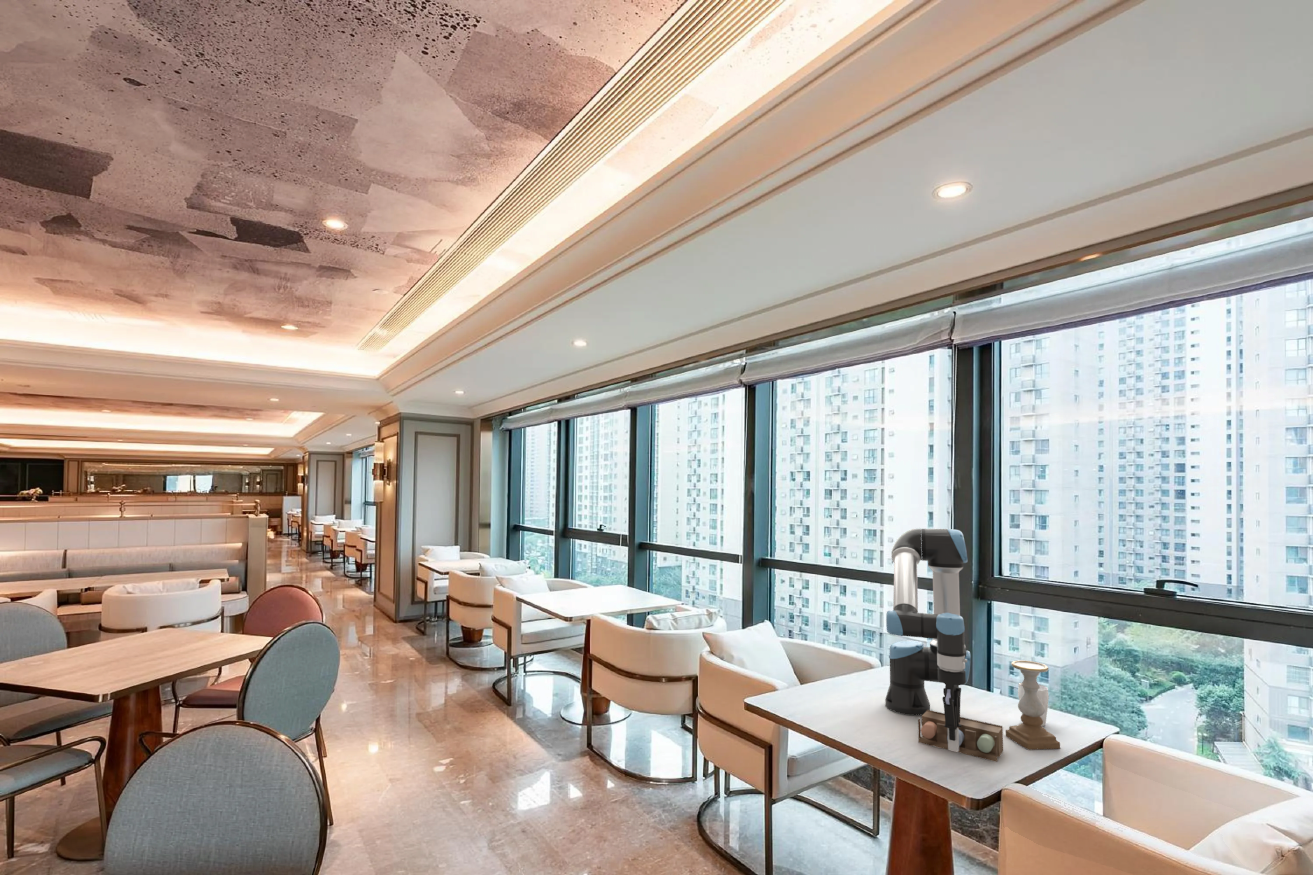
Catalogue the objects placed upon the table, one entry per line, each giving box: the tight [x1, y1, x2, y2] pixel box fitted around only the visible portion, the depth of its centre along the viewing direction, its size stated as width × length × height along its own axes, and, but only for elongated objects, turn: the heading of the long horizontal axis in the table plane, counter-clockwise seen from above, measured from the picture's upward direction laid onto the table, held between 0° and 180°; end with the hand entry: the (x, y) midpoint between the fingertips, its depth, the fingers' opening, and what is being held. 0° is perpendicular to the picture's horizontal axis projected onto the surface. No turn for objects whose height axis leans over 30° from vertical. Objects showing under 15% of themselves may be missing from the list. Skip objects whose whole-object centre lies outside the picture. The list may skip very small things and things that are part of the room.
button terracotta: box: [920, 721, 937, 739], centre depth 198 cm, size 4×4×4 cm
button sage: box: [977, 734, 995, 753], centre depth 188 cm, size 4×4×4 cm
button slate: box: [947, 730, 964, 746], centre depth 192 cm, size 4×4×4 cm
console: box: [917, 709, 1004, 763], centre depth 196 cm, size 22×10×7 cm, turn 52°
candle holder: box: [1005, 659, 1061, 751], centre depth 200 cm, size 11×11×24 cm
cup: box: [1017, 682, 1050, 727], centre depth 216 cm, size 9×9×12 cm
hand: (953, 749), depth 186 cm, fingers closed
